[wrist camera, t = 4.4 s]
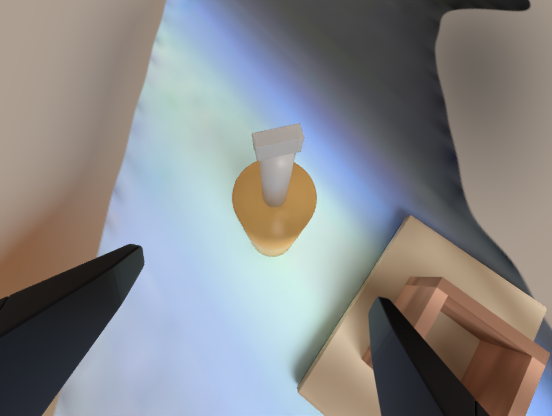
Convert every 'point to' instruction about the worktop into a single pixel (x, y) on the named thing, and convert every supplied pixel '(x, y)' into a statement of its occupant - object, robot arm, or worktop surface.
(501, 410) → the beige board with box
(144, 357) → the worktop surface
